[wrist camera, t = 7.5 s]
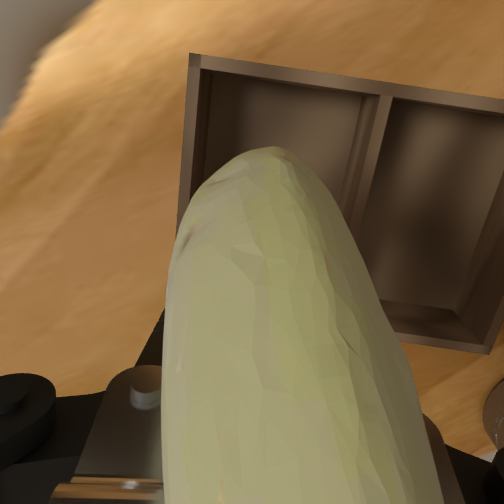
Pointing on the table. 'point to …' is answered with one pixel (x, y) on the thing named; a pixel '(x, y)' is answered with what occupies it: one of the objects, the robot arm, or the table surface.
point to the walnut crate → (376, 181)
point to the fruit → (282, 353)
